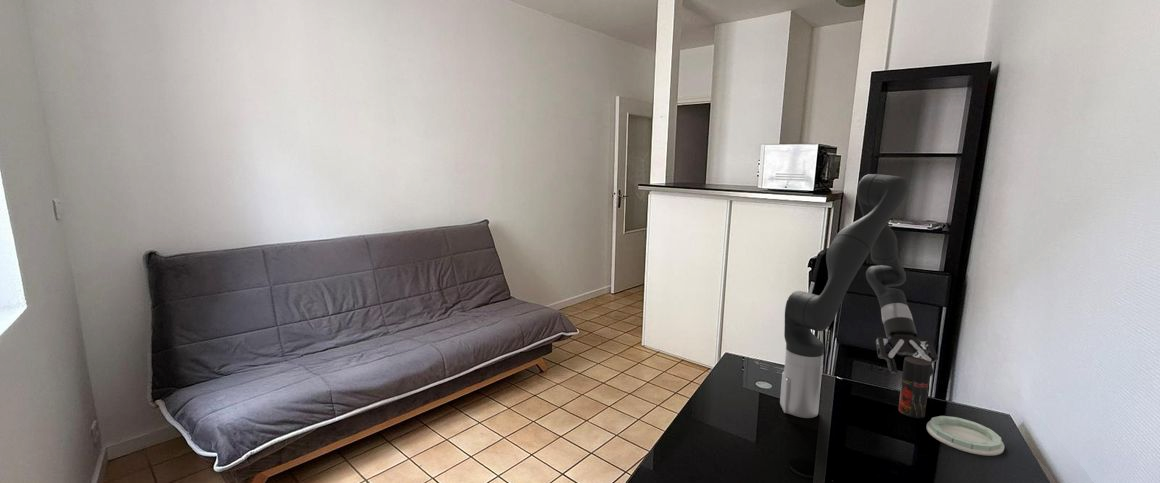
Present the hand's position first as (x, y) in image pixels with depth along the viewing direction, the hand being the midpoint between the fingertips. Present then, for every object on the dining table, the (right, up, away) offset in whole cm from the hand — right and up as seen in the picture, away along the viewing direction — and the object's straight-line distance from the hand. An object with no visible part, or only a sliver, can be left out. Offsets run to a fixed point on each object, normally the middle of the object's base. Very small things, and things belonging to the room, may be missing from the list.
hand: (911, 374), depth 129 cm
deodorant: (0, -11, 0) cm, 11 cm away
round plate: (+4, -12, -13) cm, 18 cm away
